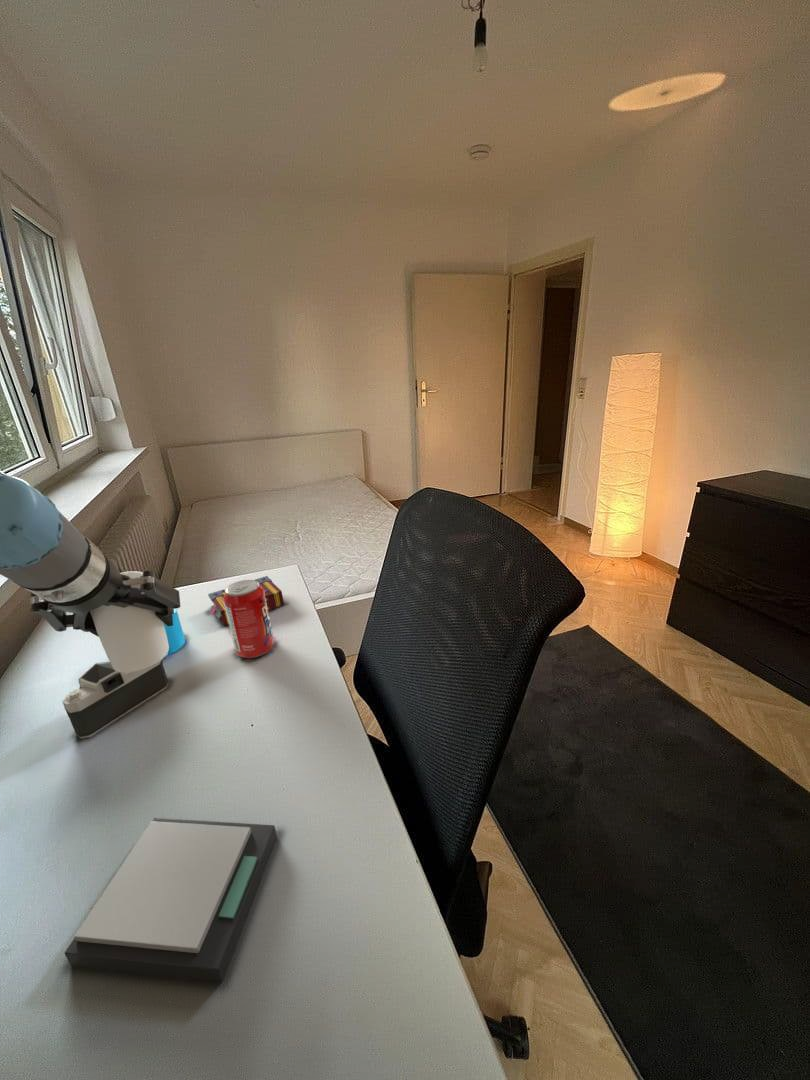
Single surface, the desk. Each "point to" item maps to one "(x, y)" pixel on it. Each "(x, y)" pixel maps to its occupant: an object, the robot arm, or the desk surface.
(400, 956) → the desk surface
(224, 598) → the soda can
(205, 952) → the scale
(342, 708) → the desk surface
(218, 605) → the decorative book
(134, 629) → the cup
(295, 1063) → the desk surface
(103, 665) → the camera
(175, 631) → the mug
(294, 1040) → the desk surface
